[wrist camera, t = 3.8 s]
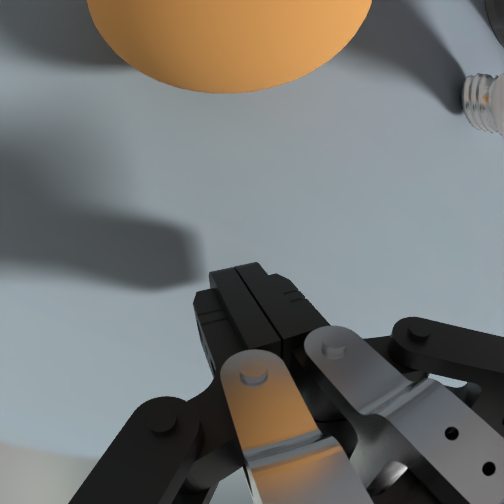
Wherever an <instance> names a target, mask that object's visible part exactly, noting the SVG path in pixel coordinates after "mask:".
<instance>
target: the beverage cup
mask: <svg viewBox="0 0 504 504" xmlns="http://www.w3.org/2000/svg"><path fill="white" fill-rule="evenodd" d="M485 4H486V10H487V14H488V18H489V21H490V23H491V26H492V29H493V31H494V33H495V35H496V37H497V39H498V41H499V42H500V44H501V45H502V46H503V47H504V0H485Z"/></svg>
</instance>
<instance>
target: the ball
mask: <svg viewBox="0 0 504 504" xmlns="http://www.w3.org/2000/svg"><path fill="white" fill-rule="evenodd" d="M371 2H372V0H87V4H88V8H89V12H90V15H91V17H92V20H93V22H94V24H95V26H96V28H97V29H98V31H99V33H100V34H101V36H102V37H103V39H104V40H105V41H106V43H107V44H108V45H109V46H110V47H111V48H112V49H113V50H114V52H115V53H116V54H117V55H118V56H120V57H121V58H122V59H123V60H124V61H125V62H127V63H128V64H129V65H130V66H132V67H134V68H135V69H137V70H138V71H140V72H142V73H143V74H145V75H147V76H149V77H151V78H153V79H156V80H158V81H160V82H163V83H166V84H169V85H172V86H174V87H178V88H182V89H187V90H191V91H197V92H207V93H243V92H253V91H258V90H263V89H268V88H272V87H275V86H278V85H281V84H284V83H287V82H290V81H293V80H296V79H298V78H300V77H302V76H304V75H306V74H308V73H310V72H312V71H313V70H315V69H317V68H318V67H320V66H321V65H323V64H324V63H326V62H328V61H329V60H330V59H331V58H333V57H334V56H335V55H336V54H337V53H338V52H340V51H341V50H342V49H343V48H344V47H345V46H346V45H347V43H348V42H349V41H350V40H351V39H352V38H353V37H354V35H355V34H356V32H357V31H358V29H359V27H360V26H361V24H362V23H363V21H364V19H365V18H366V16H367V13H368V11H369V8H370V6H371Z"/></svg>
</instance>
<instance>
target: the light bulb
mask: <svg viewBox="0 0 504 504" xmlns="http://www.w3.org/2000/svg"><path fill="white" fill-rule="evenodd" d="M461 97H462V106H463V109H464V113H465V116H466V118H467V119H468V121H469V123H470V124H471V125H472V126H473V127H475V128H476V129H478V130H481V129H482V130H484V131H489V132H491V133H497V132H499V133H500V134H501V136H502V137H503V138H504V73H503V74H502V75H500V76H499V77H498V76H495V78H493V77H492V76H491V75H488V74H479V73H477V74H476V75H475V76H472V75H470V76H467V77H466V79H465V82H464V85H463V88H462V95H461Z"/></svg>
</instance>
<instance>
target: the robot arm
mask: <svg viewBox="0 0 504 504" xmlns="http://www.w3.org/2000/svg"><path fill="white" fill-rule="evenodd" d="M209 281H210V288H211V289H207V290H203V291H198V292H196V296H195V299H194V302H193V305H194V311H195V316H196V321H197V326H198V331H199V335H200V340H201V344H202V346H203V349H204V352H205V355H206V358H207V361H208V363H209V366H210V369H211V372H212V375H213V377H214V379H213V381H212V383H211V384H210V385H209V387H208V388H207V389H206V390H205V391H203V392H202V393H200V394H199V395H197V396H196V397H194V398H192V399H190V400H188V401H187V402H186V401H185V400H182V399H180V398H176V397H169V396H165V397H157V398H154V399H151V400H148V401H146V402H145V403H143V404H141V405H140V406H139V407H138V408H137V409H136V410H135V411H134V413H133V414H132V415H131V417H130V418H129V419H128V421H127V422H126V424H125V425H124V426H123V428H122V429H121V431H120V432H119V433H118V435H117V436H116V438H115V439H114V440H113V442H112V443H111V445H110V446H109V447H108V449H107V450H106V452H105V453H104V454H103V456H102V457H101V459H100V460H99V461H98V463H97V464H96V466H95V467H94V468H93V470H92V471H91V473H90V474H89V475H88V477H87V478H86V480H85V481H84V482H83V484H82V485H81V487H80V488H79V489H78V491H77V492H76V494H75V495H74V496H73V498H72V499H71V501H70V502H69V503H68V504H209V502H210V500H211V498H212V496H213V494H214V492H215V490H216V488H217V486H218V483H219V481H220V480H222V479H224V478H226V477H227V476H229V475H230V474H232V473H233V472H235V471H236V470H238V469H239V468H241V467H242V469H243V472H244V475H245V478H246V481H247V484H248V487H249V490H250V493H251V496H252V499H253V502H254V504H504V337H501V336H496V335H492V334H487V333H483V332H479V331H474V330H470V329H466V328H462V327H457V326H453V325H449V324H445V323H440V322H436V321H432V320H428V319H424V318H419V317H407V318H403V319H401V320H399V321H398V322H396V324H395V325H394V327H393V330H392V334H391V336H384V337H376V338H368V339H362V338H361V337H360V336H359V335H358V334H356V333H355V332H354V331H352V330H350V329H348V328H345V327H341V326H331V325H330V324H329V323H328V322H327V321H326V320H325V319H324V317H323V316H322V315H321V314H320V313H319V312H318V311H317V310H316V309H315V307H314V306H313V305H312V304H311V303H310V302H309V301H308V300H307V299H305V296H304V295H303V294H302V293H301V292H300V291H298V289H297V287H296V286H295V285H294V284H293V283H292V282H291V281H290V280H289V279H287V278H285V277H283V276H281V275H279V274H277V273H276V274H272V275H268V274H267V273H266V272H265V271H264V269H263V268H262V267H261V266H260V264H259V263H258V262H254V263H249V264H245V265H240V266H235V267H231V268H227V269H222V270H217V271H213V272H209ZM430 373H431V374H435V375H440V376H444V377H448V378H452V379H457V380H461V381H466V382H468V383H467V384H466V385H465V386H463V387H459V388H454V387H449V386H445V385H443V384H441V383H440V382H438V381H437V380H434V379H431V378H428V376H429V374H430ZM407 467H408V469H407Z"/></svg>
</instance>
